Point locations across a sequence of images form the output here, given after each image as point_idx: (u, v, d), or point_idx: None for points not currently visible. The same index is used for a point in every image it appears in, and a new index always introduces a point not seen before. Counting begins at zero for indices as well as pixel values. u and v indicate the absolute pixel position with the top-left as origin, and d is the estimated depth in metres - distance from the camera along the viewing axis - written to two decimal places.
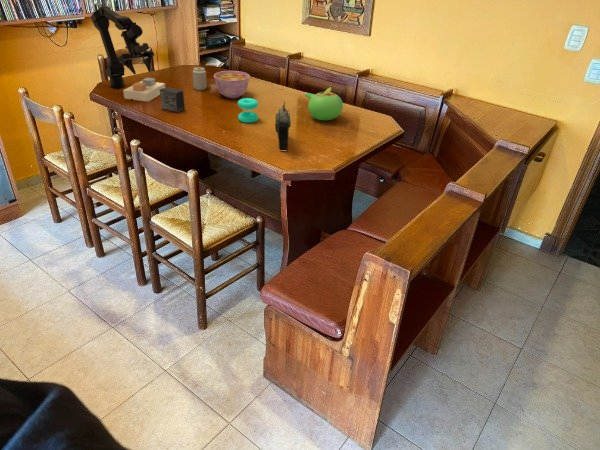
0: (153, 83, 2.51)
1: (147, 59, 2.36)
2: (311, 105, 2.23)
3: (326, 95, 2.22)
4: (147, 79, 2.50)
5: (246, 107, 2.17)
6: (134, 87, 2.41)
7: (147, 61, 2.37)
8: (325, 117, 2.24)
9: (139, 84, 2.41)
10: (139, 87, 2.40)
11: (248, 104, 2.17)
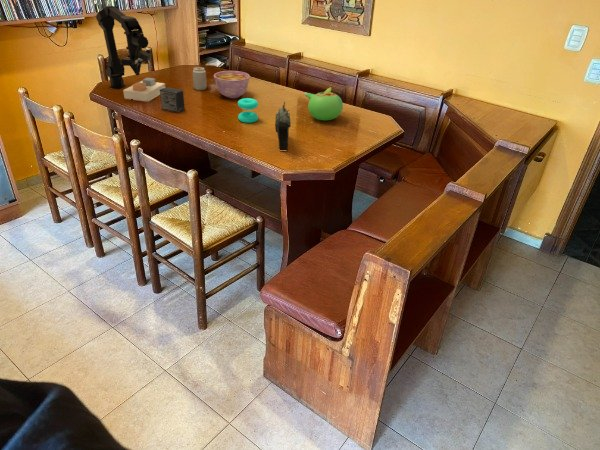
0: (153, 83, 2.51)
1: (138, 63, 2.36)
2: (311, 105, 2.23)
3: (326, 95, 2.22)
4: (147, 79, 2.50)
5: (246, 107, 2.17)
6: (134, 87, 2.41)
7: (138, 65, 2.37)
8: (325, 117, 2.24)
9: (139, 84, 2.41)
10: (139, 87, 2.40)
11: (248, 104, 2.17)
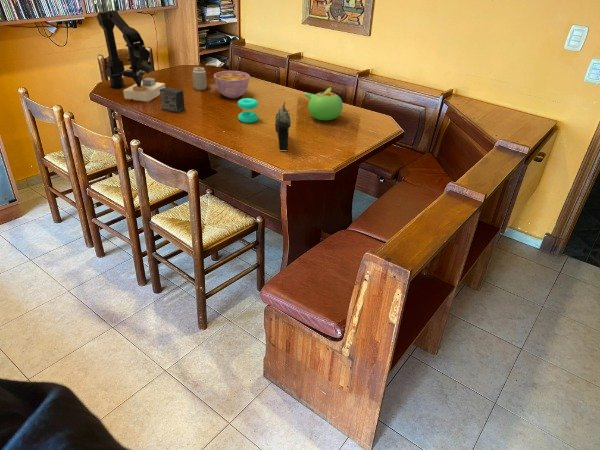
0: (153, 83, 2.51)
1: None
2: (311, 105, 2.23)
3: (326, 95, 2.22)
4: (147, 79, 2.50)
5: (246, 107, 2.17)
6: (134, 89, 2.41)
7: (139, 76, 2.40)
8: (325, 117, 2.24)
9: (140, 86, 2.42)
10: (139, 89, 2.41)
11: (248, 104, 2.17)
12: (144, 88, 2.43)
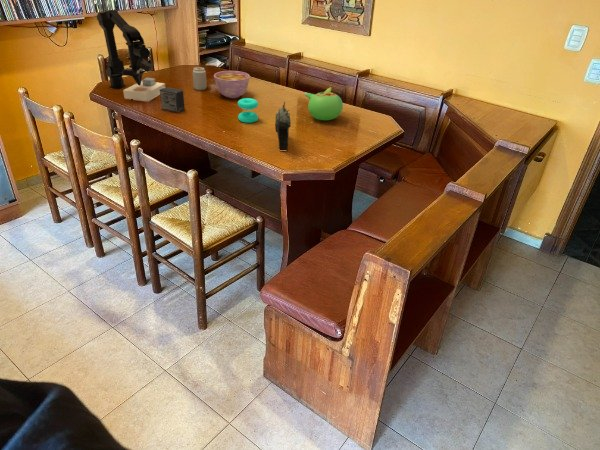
0: (153, 83, 2.51)
1: None
2: (311, 105, 2.23)
3: (326, 95, 2.22)
4: (147, 79, 2.50)
5: (246, 107, 2.17)
6: None
7: (139, 75, 2.39)
8: (325, 117, 2.24)
9: (140, 89, 2.43)
10: None
11: (248, 104, 2.17)
12: None
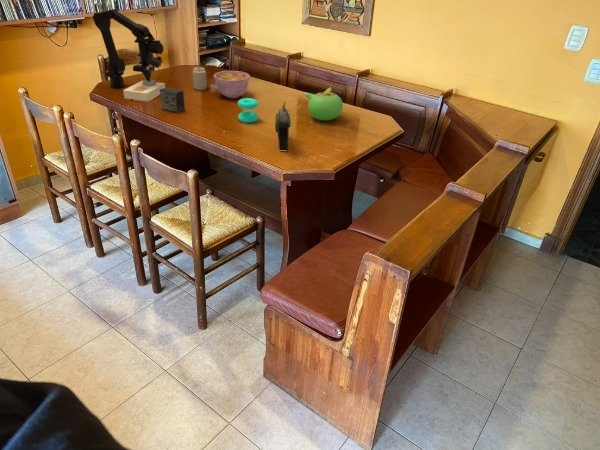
0: None
1: (149, 69, 2.47)
2: (311, 105, 2.23)
3: (326, 95, 2.22)
4: (147, 81, 2.50)
5: (246, 107, 2.17)
6: None
7: (149, 71, 2.48)
8: (325, 117, 2.24)
9: (140, 89, 2.43)
10: None
11: (248, 104, 2.17)
12: None
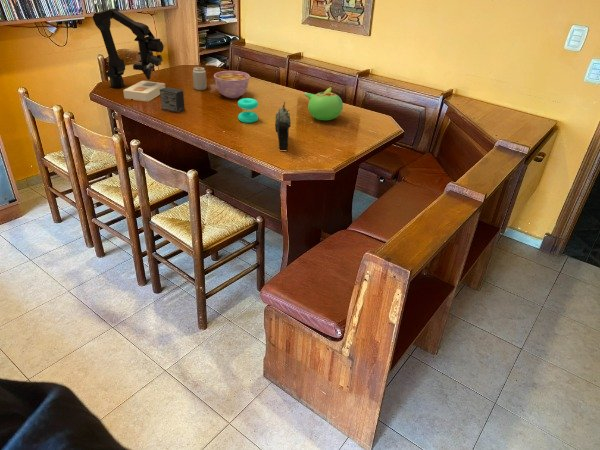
0: None
1: None
2: (311, 105, 2.23)
3: (326, 95, 2.22)
4: (148, 84, 2.51)
5: (246, 107, 2.17)
6: None
7: (149, 69, 2.47)
8: (325, 117, 2.24)
9: (140, 89, 2.43)
10: None
11: (248, 104, 2.17)
12: None
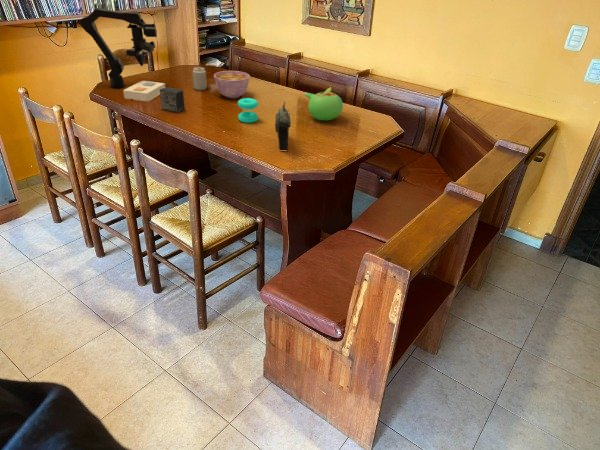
0: None
1: (142, 54, 2.52)
2: (311, 105, 2.23)
3: (326, 95, 2.22)
4: (148, 84, 2.51)
5: (246, 107, 2.17)
6: None
7: None
8: (325, 117, 2.24)
9: (140, 89, 2.43)
10: None
11: (248, 104, 2.17)
12: None
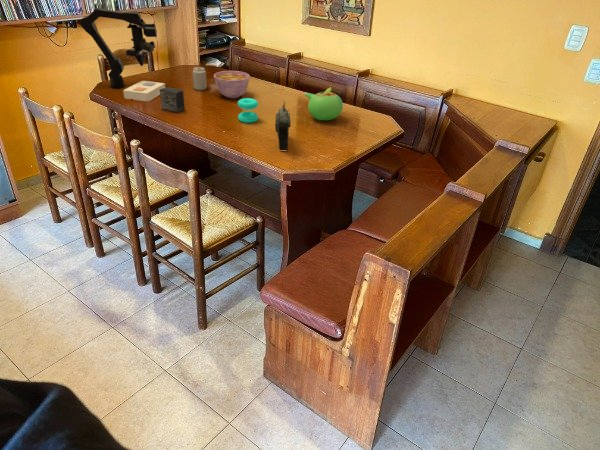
0: None
1: (142, 54, 2.52)
2: (311, 105, 2.23)
3: (326, 95, 2.22)
4: (148, 84, 2.51)
5: (246, 107, 2.17)
6: None
7: (142, 56, 2.53)
8: (325, 117, 2.24)
9: (140, 89, 2.43)
10: None
11: (248, 104, 2.17)
12: None
